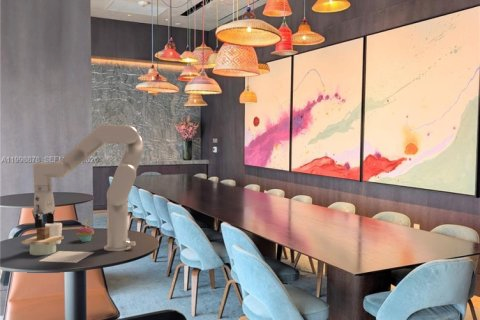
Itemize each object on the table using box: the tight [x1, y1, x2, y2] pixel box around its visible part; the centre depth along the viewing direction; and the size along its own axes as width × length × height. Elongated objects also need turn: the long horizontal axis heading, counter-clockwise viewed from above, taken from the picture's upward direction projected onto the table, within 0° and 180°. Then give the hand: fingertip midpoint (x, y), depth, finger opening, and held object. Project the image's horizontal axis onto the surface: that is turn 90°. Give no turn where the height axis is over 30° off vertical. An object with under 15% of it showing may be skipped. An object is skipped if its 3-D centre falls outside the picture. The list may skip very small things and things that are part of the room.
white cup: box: [44, 222, 63, 245], centre depth 212 cm, size 8×8×10 cm
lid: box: [20, 226, 65, 245], centre depth 194 cm, size 13×13×6 cm
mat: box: [39, 250, 95, 264], centre depth 187 cm, size 17×17×1 cm
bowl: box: [29, 242, 57, 256], centre depth 194 cm, size 11×11×6 cm
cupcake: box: [76, 218, 95, 243], centre depth 219 cm, size 9×8×12 cm
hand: (44, 225), depth 194 cm, fingers open, 9 cm apart
